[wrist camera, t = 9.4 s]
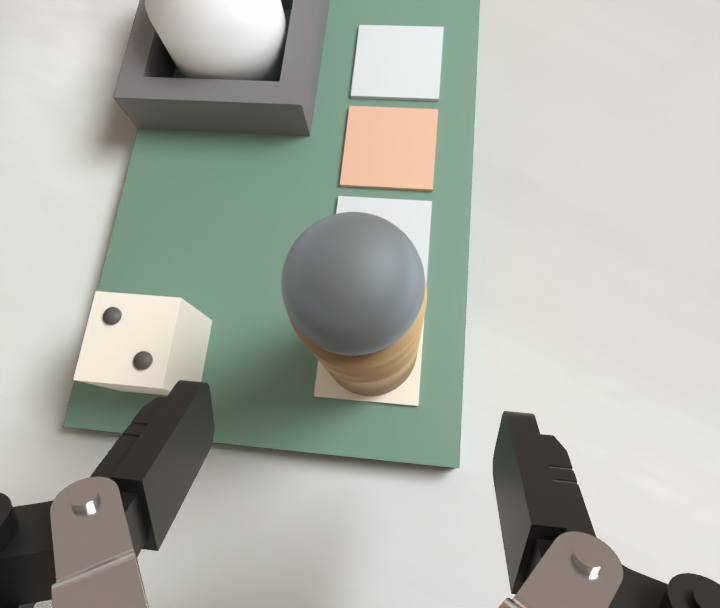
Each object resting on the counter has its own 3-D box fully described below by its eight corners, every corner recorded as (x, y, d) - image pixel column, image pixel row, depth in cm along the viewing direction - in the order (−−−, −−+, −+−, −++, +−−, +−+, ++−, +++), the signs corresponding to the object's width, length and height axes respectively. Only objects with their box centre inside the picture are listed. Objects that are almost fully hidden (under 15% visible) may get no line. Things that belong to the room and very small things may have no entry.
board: (76, 427, 23) (2, 421, 19) (180, 4, 30) (142, -73, 25) (456, 467, 22) (471, 470, 17) (477, 11, 28) (491, -72, 24)
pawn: (319, 391, 22) (248, 335, 12) (329, 301, 23) (274, 176, 13) (413, 400, 21) (427, 350, 11) (420, 308, 22) (438, 185, 12)
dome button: (170, 102, 27) (132, 43, 23) (192, 9, 28) (159, -61, 24) (284, 106, 26) (264, 46, 22) (299, 11, 28) (284, -60, 24)
